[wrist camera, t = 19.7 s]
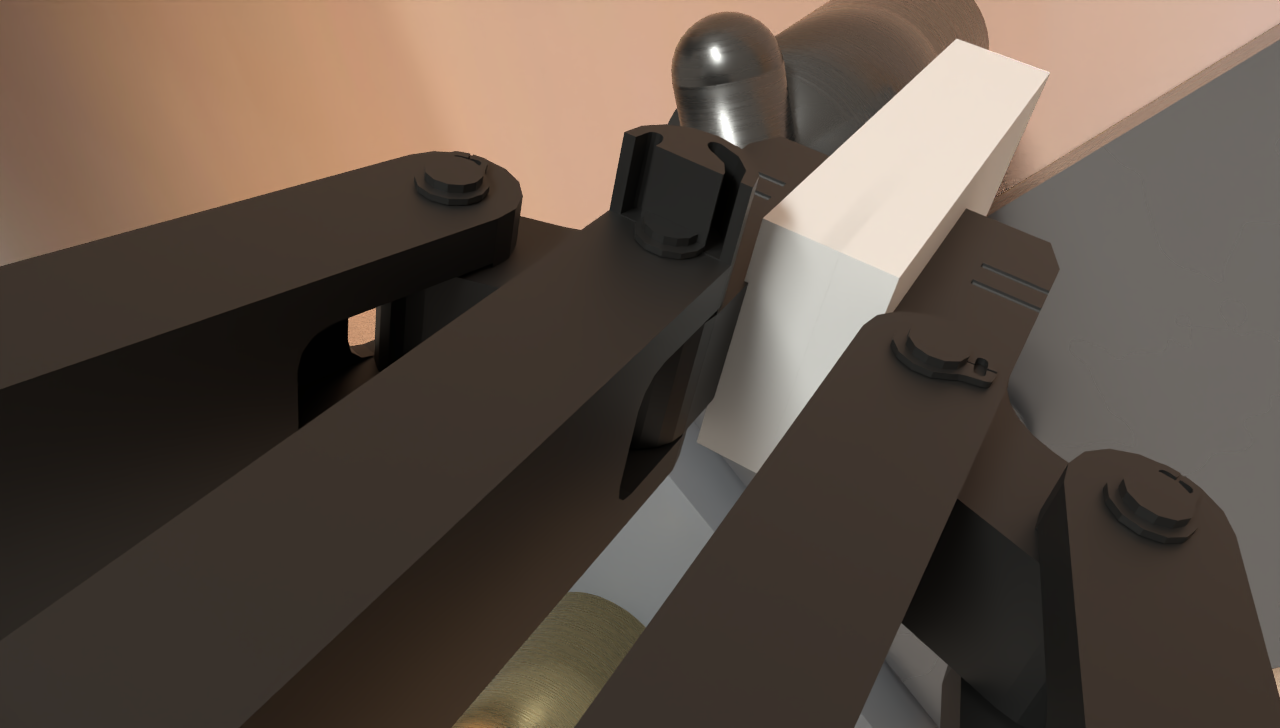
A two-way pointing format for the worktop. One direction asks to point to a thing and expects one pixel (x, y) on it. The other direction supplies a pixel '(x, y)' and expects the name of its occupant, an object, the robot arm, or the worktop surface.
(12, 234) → the worktop surface
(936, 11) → the crank lever
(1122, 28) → the worktop surface
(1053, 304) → the crank plate
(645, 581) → the tray
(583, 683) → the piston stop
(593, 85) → the worktop surface
